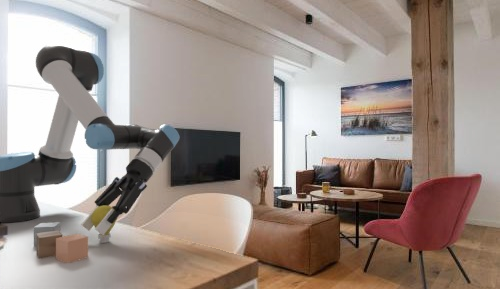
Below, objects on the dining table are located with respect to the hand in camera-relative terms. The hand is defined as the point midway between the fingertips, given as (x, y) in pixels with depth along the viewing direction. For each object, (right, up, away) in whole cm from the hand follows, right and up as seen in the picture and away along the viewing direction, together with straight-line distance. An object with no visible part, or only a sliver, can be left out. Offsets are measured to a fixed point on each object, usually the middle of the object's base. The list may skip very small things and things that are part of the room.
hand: (92, 229), depth 94 cm
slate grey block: (-13, -4, +2) cm, 14 cm away
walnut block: (-7, -4, -8) cm, 11 cm away
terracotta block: (0, -4, -11) cm, 11 cm away
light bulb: (+2, -4, +3) cm, 6 cm away
